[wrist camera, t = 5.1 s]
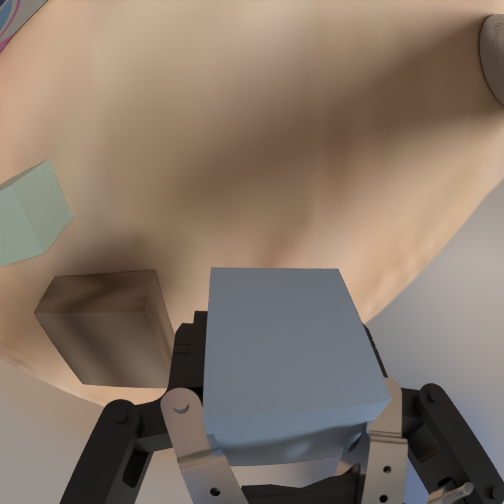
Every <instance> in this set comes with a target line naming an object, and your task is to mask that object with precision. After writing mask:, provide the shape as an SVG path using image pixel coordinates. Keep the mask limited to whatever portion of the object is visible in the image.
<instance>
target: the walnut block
mask: <svg viewBox="0 0 504 504" xmlns="http://www.w3.org/2000/svg"><path fill="white" fill-rule="evenodd" d="M34 314H35V316H36V318H37V319H38V321H39V322H40V324H41V326H42V327H43V329H44V330H45V332H46V334H47V335H48V337H49V338H50V340H51V341H52V343H53V344H54V346H55V347H56V349H57V350H58V351H59V353H60V354H61V356H62V357H63V359H64V360H65V361H66V363H67V364H68V365H69V367H70V368H71V370H72V371H73V372H74V373H75V375H76V376H77V377H78V379H79V380H80V381H81V383H82V384H87V385H99V386H114V387H135V388H168V383H169V375H170V367H171V360H172V354H173V346H174V339H175V334H174V331H173V328H172V325H171V322H170V319H169V316H168V313H167V309H166V306H165V303H164V300H163V296H162V293H161V290H160V286H159V283H158V279H157V276H156V272H155V270H145V271H131V272H117V273H103V274H89V275H74V276H59V277H54V279H53V281H52V282H51V284H50V285H49V287H48V289H47V291H46V292H45V294H44V296H43V297H42V299H41V301H40V303H39V305H38V306H37V308H36V310H35V312H34Z"/></svg>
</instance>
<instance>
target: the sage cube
mask: <svg viewBox="0 0 504 504" xmlns="http://www.w3.org/2000/svg"><path fill="white" fill-rule="evenodd" d="M72 218H73V217H72V214H71V212H70V210H69V207H68V205H67V203H66V200H65V198H64V195H63V193H62V191H61V188H60V186H59V183H58V180H57V178H56V175H55V173H54V170H53V167H52V164H51V162H50V159H48V160H46V161H44V162H42V163H40V164H38V165H36V166H34V167H32V168H30V169H28V170H26V171H24V172H22V173H20V174H18V175H16V176H14V177H12V178H11V179H9V180H7V181H6V182H4V183H3V184H2V185H0V265H1V267H3V266H6V265H9V264H12V263H15V262H18V261H22V260H25V259H28V258H32V257H35V256H38V255H42V254H45V252H46V251H47V250H48V248H49V247H50V246H51V244H52V243H53V242H54V241H55V239H56V238H57V237H58V236H59V234H60V233H61V232H62V231H63V229H64V228H65V227H66V226H67V224H68V223H69V222H70V221H71V220H72Z"/></svg>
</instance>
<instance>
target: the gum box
mask: <svg viewBox="0 0 504 504" xmlns="http://www.w3.org/2000/svg"><path fill="white" fill-rule="evenodd" d="M46 1H47V0H0V52H1V51H2V49H3V48H4V47H5V45H6V44H7V43H8V41H9V40H10V39H11V38H12V36H13V35H14V34H15V33H16V32H17V31H18V30H19V28H20V27H21V26H22V25H23V24H24V23H25V22H26V21H27V20H28V19H29V18H30V17H31V16H32V15H33V14H34V13H35V12H36V11H37V10H38V9H39V8H40V7H41V6H42V5H43V4H44V3H45V2H46Z"/></svg>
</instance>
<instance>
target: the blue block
mask: <svg viewBox="0 0 504 504" xmlns="http://www.w3.org/2000/svg"><path fill="white" fill-rule="evenodd" d="M391 400H392V398H391V396H390V393H389V390H388V387H387V385H386V382H385V379H384V377H383V374H382V371H381V369H380V366H379V364H378V361H377V358H376V356H375V353H374V351H373V348H372V346H371V343H370V341H369V338H368V336H367V334H366V331H365V329H364V326H363V324H362V322H361V319H360V317H359V314H358V312H357V310H356V307H355V305H354V303H353V301H352V298H351V296H350V294H349V291H348V289H347V287H346V285H345V283H344V280H343V278H342V276H341V274H340V272H339V269H289V268H213V267H211V275H210V288H209V302H208V316H207V332H206V349H205V368H204V390H203V421H204V426H205V431H206V434H214V436H215V438H216V441H217V443H218V445H219V447H220V448H221V449H222V451H223V453H224V455H225V457H226V459H227V461H228V463H229V465H230V466H256V465H257V466H258V465H273V464H274V465H275V464H286V463H297V462H305V461H313V460H319V459H320V460H321V459H327V458H333V457H339V456H341V454H342V453H343V447H344V446H345V445H346V444H347V443H351V442H355V441H356V439H357V438H358V437H359V436H360V435H361V432H362V426H363V425H364V424H365V423H366V422H367V421H370V420H375V419H376V418H377V417H378V415H379V414H380V413H381V412H382V411H383V410H384V408H385V407H386V406H387V405H388V404H389V402H390V401H391Z"/></svg>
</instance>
